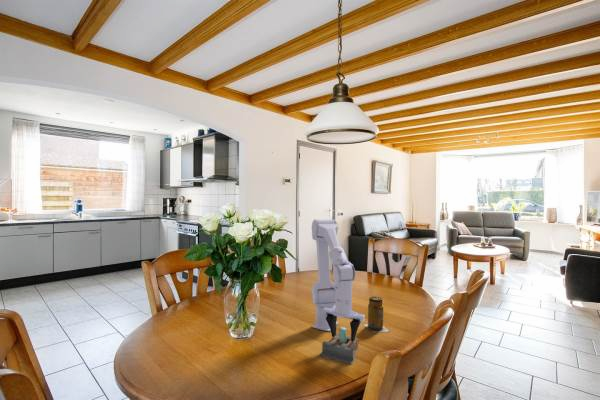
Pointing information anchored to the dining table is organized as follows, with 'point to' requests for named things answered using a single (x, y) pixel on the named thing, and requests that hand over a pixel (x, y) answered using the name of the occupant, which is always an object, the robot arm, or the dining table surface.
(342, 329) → the dowel
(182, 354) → the dining table surface
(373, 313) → the condiment
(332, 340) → the brown hollow block
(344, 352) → the wall
